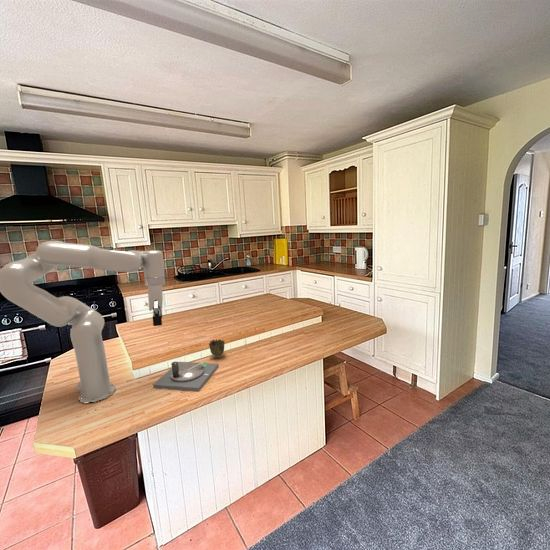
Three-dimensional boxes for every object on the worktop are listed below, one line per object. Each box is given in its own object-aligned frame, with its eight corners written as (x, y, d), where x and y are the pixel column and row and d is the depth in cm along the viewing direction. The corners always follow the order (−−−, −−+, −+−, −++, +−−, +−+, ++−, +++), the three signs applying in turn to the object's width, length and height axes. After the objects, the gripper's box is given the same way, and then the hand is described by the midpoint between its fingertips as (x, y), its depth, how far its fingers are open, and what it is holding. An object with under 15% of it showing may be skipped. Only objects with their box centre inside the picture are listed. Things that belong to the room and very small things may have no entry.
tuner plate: (153, 388, 119) (152, 384, 119) (178, 364, 138) (178, 361, 138) (198, 391, 115) (198, 387, 114) (218, 366, 134) (218, 363, 134)
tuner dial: (183, 385, 116) (182, 368, 115) (163, 375, 125) (161, 360, 124) (215, 367, 130) (214, 352, 128) (195, 360, 138) (193, 346, 137)
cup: (222, 361, 139) (220, 345, 138) (207, 360, 141) (206, 344, 139) (227, 354, 146) (226, 339, 145) (214, 353, 148) (212, 338, 146)
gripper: (146, 278, 125) (149, 317, 128) (143, 285, 109) (146, 329, 112) (164, 277, 127) (167, 315, 130) (164, 284, 111) (167, 327, 114)
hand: (157, 321), depth 121 cm, fingers open, 9 cm apart
